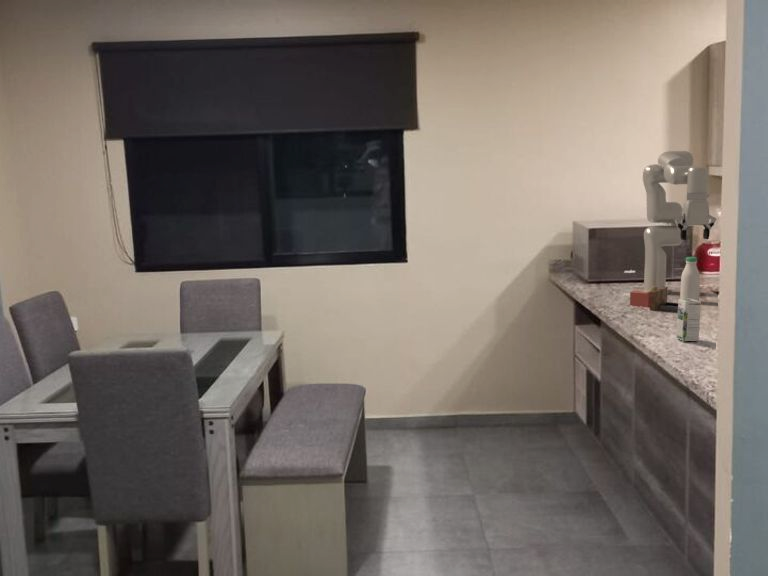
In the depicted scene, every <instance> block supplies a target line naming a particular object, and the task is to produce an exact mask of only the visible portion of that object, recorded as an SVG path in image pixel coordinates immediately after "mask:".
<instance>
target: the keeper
mask: <svg viewBox="0 0 768 576" xmlns="http://www.w3.org/2000/svg"><path fill="white" fill-rule="evenodd" d="M657 311H664V312H672V313H673V312H675V313H678V302H671V301H670V302H669V301H667V302H665V303H662V304H660V305H659V308H658V310H657Z"/></svg>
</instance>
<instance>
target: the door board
mask: <svg viewBox="0 0 768 576" xmlns="http://www.w3.org/2000/svg"><path fill="white" fill-rule="evenodd" d="M667 290H669V289H668V286H665V287H661V288H658V289H657V287H656V286H652V287H651V296H650V307H649V311H650V310H651V311H652V312H656V311H659V310H658V308H659V305H660V304H662V303H665V302H668V293H667Z"/></svg>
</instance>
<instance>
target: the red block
mask: <svg viewBox="0 0 768 576" xmlns="http://www.w3.org/2000/svg"><path fill="white" fill-rule="evenodd" d="M629 293H630V294H629V306H630V305H632V306H631V307H640V306H642V307H641V308H650V296H651V291H647V292H643V291H640V290H632V291H630V292H629Z"/></svg>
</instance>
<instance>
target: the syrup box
mask: <svg viewBox="0 0 768 576" xmlns="http://www.w3.org/2000/svg"><path fill="white" fill-rule="evenodd" d="M677 303H678V312H677V320H676V321H677V323H676V336H675V337H676V338H678V339H680V340H682V341H699V340H700V325H701V323H700V322H701V308H702V307H701V306H702V302H701V301H700V300H699V301H697V300H694V299H680V298H678V301H677ZM676 338H675V339H676ZM678 339H677V340H678ZM680 340H679V341H680ZM682 341H681V342H682Z"/></svg>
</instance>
